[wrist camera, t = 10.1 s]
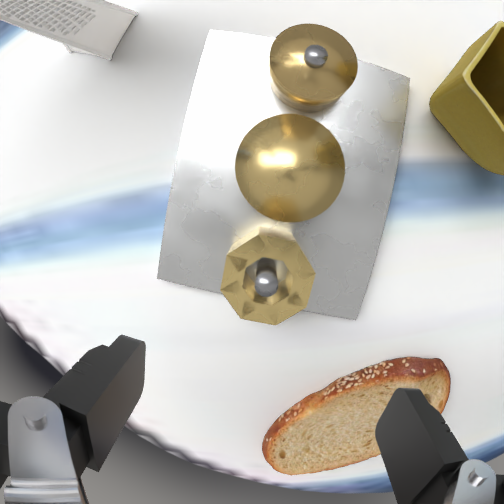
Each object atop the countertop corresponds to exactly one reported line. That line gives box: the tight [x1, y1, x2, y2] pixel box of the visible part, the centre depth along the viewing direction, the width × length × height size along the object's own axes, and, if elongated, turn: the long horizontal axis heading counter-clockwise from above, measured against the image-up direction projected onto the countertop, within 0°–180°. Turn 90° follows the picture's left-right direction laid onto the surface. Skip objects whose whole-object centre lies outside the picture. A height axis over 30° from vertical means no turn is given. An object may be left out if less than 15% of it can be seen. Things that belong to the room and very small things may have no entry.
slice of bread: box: [262, 357, 451, 475], centre depth 26 cm, size 18×18×4 cm
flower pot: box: [429, 21, 504, 175], centre depth 16 cm, size 9×9×9 cm
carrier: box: [157, 24, 410, 320], centre depth 20 cm, size 16×20×6 cm
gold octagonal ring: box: [220, 226, 316, 325], centre depth 21 cm, size 6×6×4 cm
